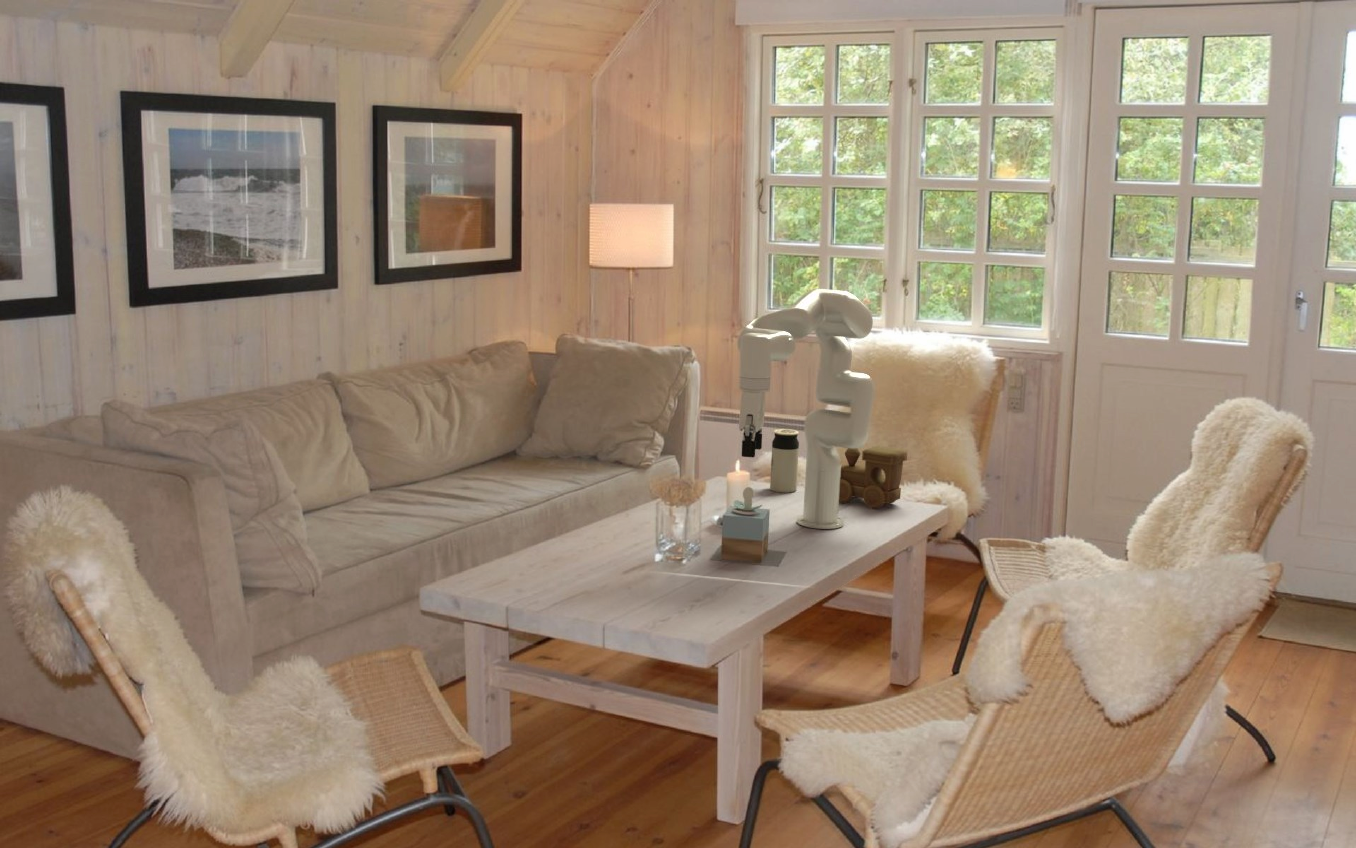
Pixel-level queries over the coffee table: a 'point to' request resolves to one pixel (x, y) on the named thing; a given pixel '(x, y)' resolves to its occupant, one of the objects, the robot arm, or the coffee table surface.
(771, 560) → the mat
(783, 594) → the coffee table surface
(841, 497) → the wooden toy train
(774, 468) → the travel mug
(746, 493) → the pacifier
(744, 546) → the bottom block
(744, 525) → the top block
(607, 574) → the coffee table surface
